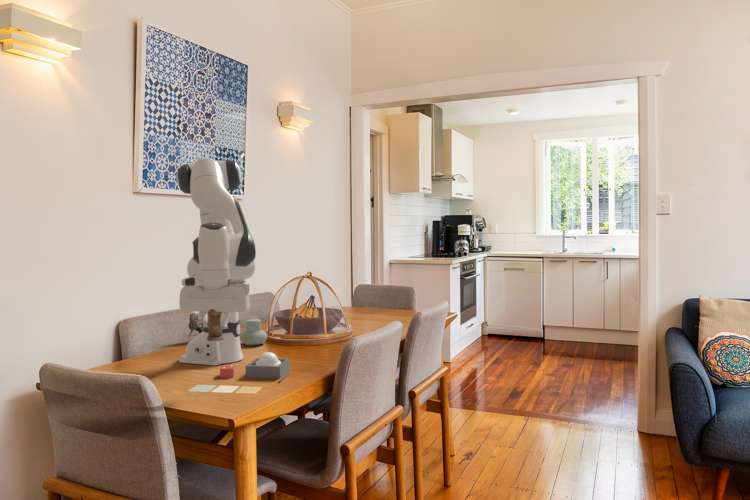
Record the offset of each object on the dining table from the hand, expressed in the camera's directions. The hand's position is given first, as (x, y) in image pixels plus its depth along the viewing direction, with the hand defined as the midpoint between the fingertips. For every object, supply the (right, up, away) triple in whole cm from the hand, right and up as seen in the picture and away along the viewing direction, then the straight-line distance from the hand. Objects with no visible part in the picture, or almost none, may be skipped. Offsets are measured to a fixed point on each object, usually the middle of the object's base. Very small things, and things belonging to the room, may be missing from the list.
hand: (215, 327), depth 163 cm
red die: (0, -19, +15) cm, 24 cm away
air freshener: (-4, -17, +69) cm, 71 cm away
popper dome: (+12, -17, +18) cm, 27 cm away
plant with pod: (-27, -17, +75) cm, 81 cm away
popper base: (+12, -19, +18) cm, 28 cm away
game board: (+3, -19, +1) cm, 20 cm away
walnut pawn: (0, -4, 0) cm, 4 cm away
